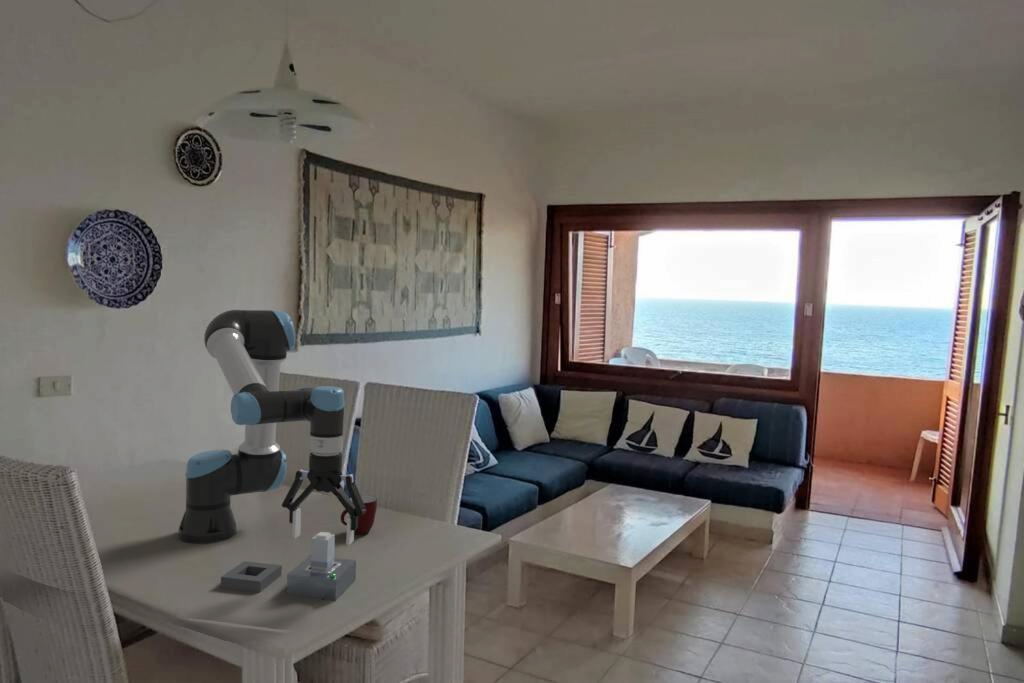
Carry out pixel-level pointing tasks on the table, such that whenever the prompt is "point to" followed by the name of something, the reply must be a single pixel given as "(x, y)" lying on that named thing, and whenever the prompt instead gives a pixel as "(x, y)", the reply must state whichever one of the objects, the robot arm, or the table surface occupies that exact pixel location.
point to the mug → (364, 515)
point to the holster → (251, 576)
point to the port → (322, 579)
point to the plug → (323, 552)
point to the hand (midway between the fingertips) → (322, 539)
